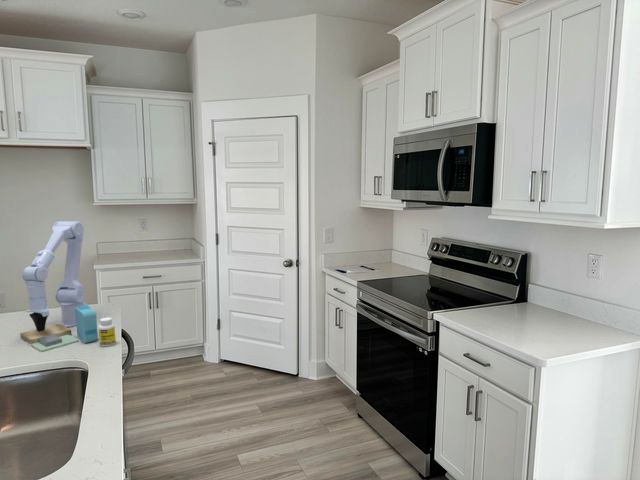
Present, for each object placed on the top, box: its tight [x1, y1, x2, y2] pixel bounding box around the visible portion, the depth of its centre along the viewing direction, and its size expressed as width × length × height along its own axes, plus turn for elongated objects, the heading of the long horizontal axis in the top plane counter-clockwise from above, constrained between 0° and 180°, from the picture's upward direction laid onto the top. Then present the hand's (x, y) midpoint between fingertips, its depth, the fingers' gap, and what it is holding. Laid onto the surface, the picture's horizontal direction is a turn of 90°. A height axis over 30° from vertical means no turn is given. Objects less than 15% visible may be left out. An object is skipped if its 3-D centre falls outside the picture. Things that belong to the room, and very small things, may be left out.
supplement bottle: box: [98, 317, 117, 347], centre depth 165 cm, size 5×5×10 cm
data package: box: [75, 304, 99, 344], centre depth 171 cm, size 12×4×12 cm, turn 42°
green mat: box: [30, 335, 80, 353], centre depth 167 cm, size 13×10×1 cm
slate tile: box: [37, 334, 62, 347], centre depth 166 cm, size 6×8×2 cm
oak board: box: [19, 323, 73, 345], centre depth 174 cm, size 14×12×2 cm
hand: (40, 330), depth 172 cm, fingers closed
